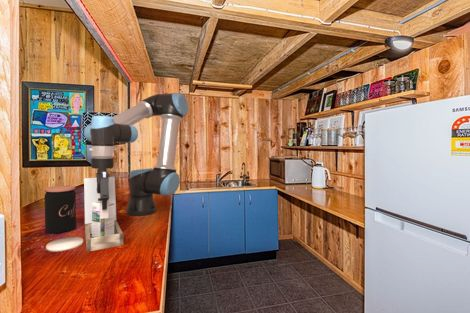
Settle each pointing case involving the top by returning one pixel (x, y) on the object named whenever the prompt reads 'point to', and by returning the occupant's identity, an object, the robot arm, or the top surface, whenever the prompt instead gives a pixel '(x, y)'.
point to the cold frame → (103, 238)
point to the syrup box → (102, 221)
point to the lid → (91, 196)
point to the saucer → (64, 244)
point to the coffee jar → (60, 209)
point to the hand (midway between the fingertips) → (102, 213)
